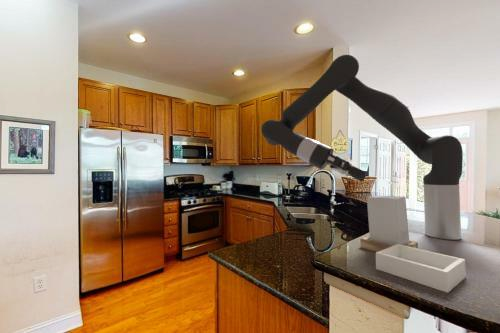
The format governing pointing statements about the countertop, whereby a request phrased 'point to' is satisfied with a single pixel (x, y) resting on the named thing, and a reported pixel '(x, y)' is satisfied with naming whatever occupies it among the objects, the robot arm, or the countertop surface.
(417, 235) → the countertop surface
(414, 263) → the tray
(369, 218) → the skincare box
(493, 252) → the countertop surface
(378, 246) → the holder
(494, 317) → the countertop surface
